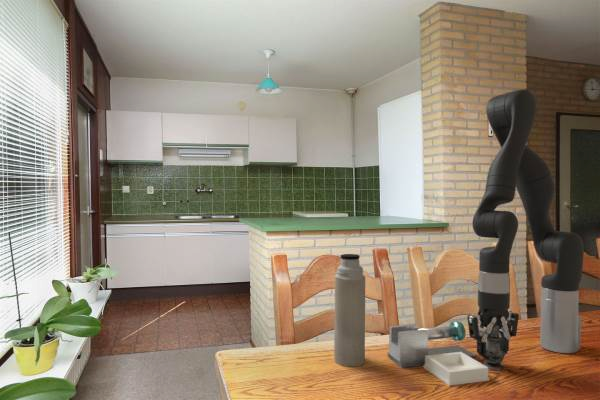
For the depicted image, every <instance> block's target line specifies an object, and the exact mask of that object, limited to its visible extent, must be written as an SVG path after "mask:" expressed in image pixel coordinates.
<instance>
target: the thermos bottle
mask: <svg viewBox="0 0 600 400" xmlns="http://www.w3.org/2000/svg"><path fill="white" fill-rule="evenodd" d="M336 272H337V273H336V274H335V275H334V335H333V336H334V340H333V341H334V342H333V343H334V344H333V345H334V346H333V347H334V348H333V351H334V353H333V355H334V359H333V361H334V362H335V363H336V364H337V365H341V366H345V367H359V366H362V365H364V363H365V362H366V360H365V359H366V358H365V357H366V345H365V344H366V276H365V275H364V270H363V267H362V266H361V265H360V254H356V253H355V254H354V253H343V254H341V255H340V265H339V266H338V267H337V270H336Z"/></svg>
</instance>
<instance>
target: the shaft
mask: <svg viewBox="0 0 600 400" xmlns="http://www.w3.org/2000/svg"><path fill="white" fill-rule="evenodd" d="M423 329H426V330H428V341H433V340H442V339H451V340H453V341H454V342H461V341H464V340H465V339H466V328H465V326H464V324H463V323H462V322H461V321H452V322H450V324H449V325H448V326H447V325H446V326H438V327H437V326H436V327H427V328H419V329H417V330H423Z"/></svg>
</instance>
